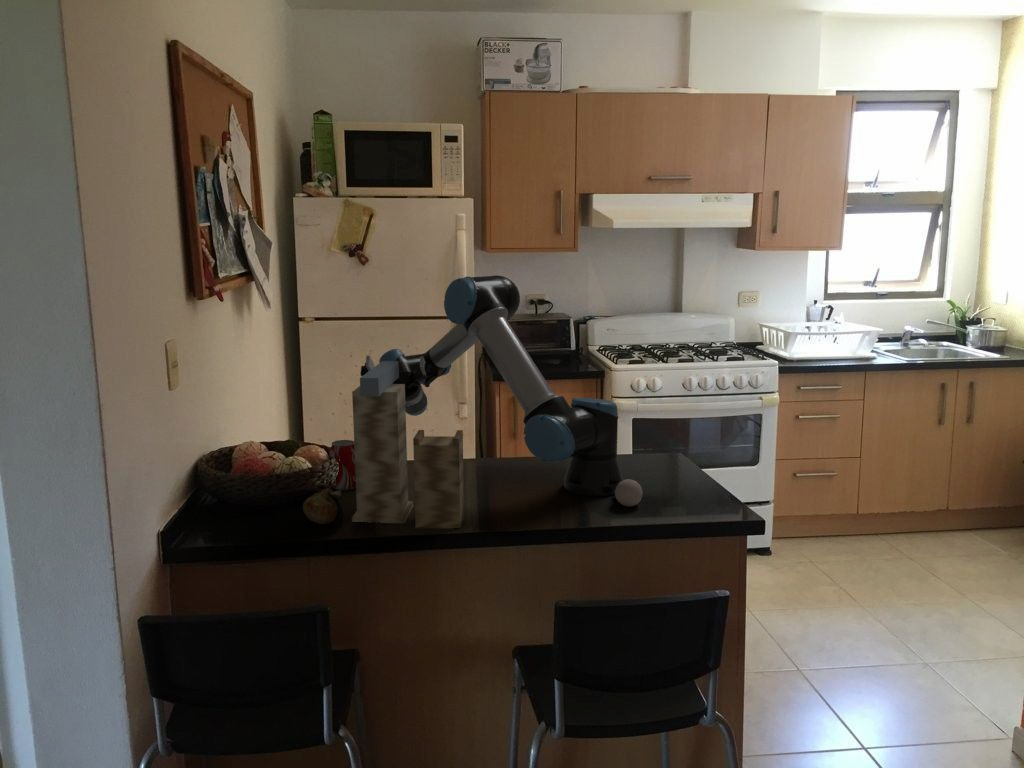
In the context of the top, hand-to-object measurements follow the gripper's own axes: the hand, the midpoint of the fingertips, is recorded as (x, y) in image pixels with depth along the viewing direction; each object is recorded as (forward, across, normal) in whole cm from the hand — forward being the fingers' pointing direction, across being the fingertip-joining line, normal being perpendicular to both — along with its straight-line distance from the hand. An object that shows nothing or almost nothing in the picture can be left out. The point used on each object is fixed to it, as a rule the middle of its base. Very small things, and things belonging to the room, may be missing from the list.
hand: (394, 360), depth 209 cm
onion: (+7, +12, -42) cm, 44 cm away
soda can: (-16, +13, -29) cm, 36 cm away
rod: (+14, 0, -12) cm, 19 cm away
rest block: (+6, -15, -41) cm, 44 cm away
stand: (+2, -1, -39) cm, 39 cm away
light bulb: (-7, -58, -33) cm, 67 cm away
